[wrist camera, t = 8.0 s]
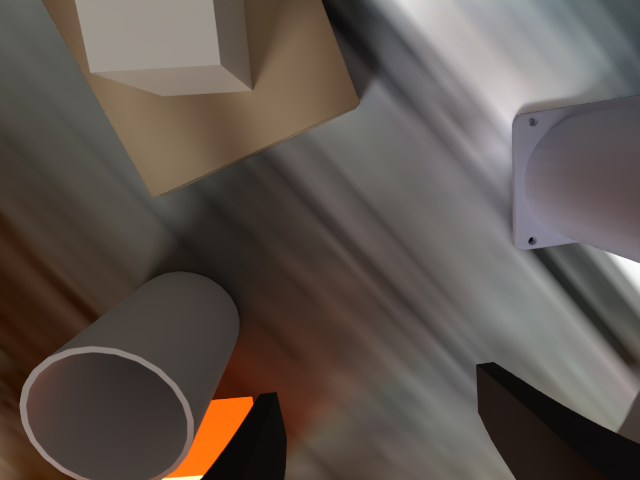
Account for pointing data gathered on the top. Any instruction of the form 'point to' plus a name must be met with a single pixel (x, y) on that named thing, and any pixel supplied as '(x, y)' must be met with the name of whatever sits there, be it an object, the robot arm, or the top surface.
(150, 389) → the cup
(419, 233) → the top surface
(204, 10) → the ceramic block
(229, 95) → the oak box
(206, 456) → the orange juice
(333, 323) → the top surface
